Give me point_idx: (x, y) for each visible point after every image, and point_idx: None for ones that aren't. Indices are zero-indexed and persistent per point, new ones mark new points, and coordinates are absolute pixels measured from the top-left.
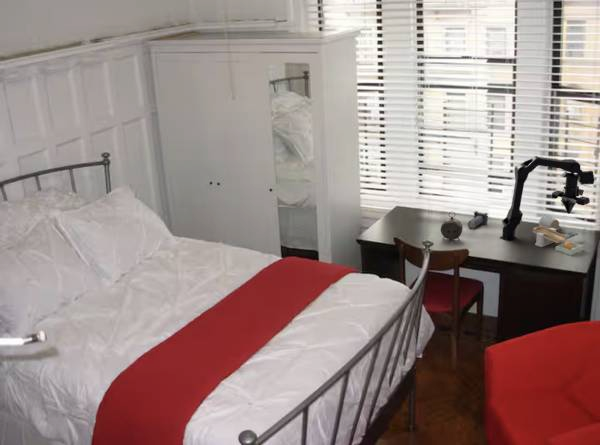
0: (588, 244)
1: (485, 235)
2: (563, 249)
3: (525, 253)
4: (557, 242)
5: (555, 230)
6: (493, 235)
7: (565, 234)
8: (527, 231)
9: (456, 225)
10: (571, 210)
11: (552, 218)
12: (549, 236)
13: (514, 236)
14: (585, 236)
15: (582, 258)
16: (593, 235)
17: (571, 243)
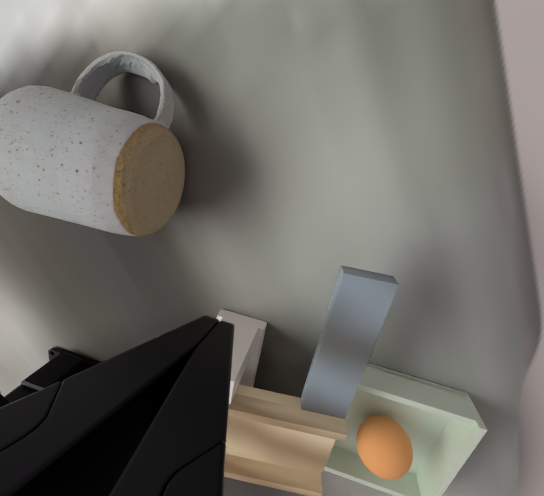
0: (483, 284)
1: (10, 381)
2: (370, 479)
3: (226, 492)
4: (319, 473)
5: (236, 381)
6: (25, 370)
7: (319, 374)
8: (75, 255)
9: None
10: (230, 373)
11: (75, 179)
12: (255, 478)
13: (87, 367)
14: (419, 123)
15: (489, 489)
16: (489, 42)
17: (407, 470)
